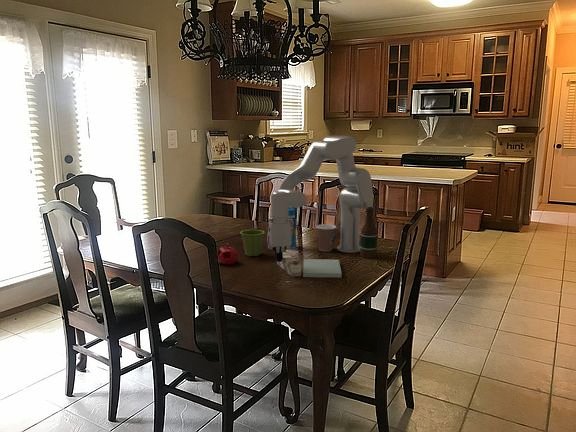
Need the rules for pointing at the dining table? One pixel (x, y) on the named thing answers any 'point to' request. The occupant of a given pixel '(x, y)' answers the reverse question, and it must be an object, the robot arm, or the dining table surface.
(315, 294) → the dining table surface
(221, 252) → the pomegranate
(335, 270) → the pale green flat slab
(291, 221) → the beverage bottle
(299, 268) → the beige patterned long block
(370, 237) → the beer bottle
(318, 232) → the coffee cup
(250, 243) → the plant pot
